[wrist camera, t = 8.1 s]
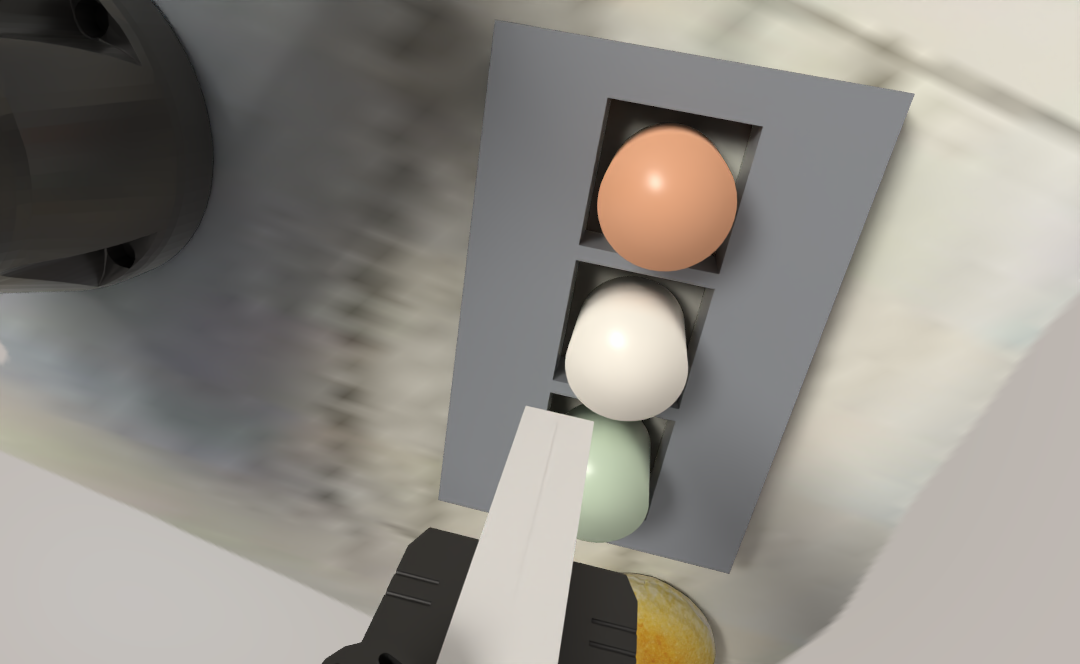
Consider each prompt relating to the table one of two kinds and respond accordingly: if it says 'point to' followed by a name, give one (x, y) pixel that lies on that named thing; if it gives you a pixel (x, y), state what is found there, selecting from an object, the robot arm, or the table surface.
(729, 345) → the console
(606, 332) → the cream button
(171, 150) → the robot arm
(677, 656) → the bread roll
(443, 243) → the table surface
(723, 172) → the brown egg
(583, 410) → the pale green rounded dome
